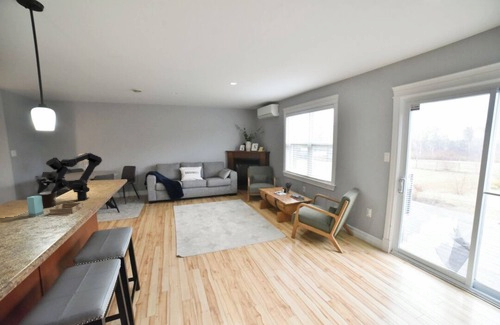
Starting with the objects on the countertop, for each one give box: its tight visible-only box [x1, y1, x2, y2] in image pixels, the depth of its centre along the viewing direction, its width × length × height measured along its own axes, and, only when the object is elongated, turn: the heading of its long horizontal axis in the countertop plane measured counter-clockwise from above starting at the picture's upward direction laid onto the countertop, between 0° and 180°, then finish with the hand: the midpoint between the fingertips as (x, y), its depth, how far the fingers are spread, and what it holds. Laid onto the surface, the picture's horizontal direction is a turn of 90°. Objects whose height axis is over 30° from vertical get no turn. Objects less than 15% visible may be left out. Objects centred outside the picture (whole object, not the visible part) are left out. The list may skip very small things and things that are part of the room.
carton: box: [47, 202, 85, 217], centre depth 136 cm, size 18×12×4 cm
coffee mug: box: [39, 190, 58, 209], centre depth 146 cm, size 12×9×10 cm
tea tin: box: [26, 195, 45, 218], centre depth 128 cm, size 5×5×12 cm
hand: (44, 193), depth 134 cm, fingers open, 9 cm apart
